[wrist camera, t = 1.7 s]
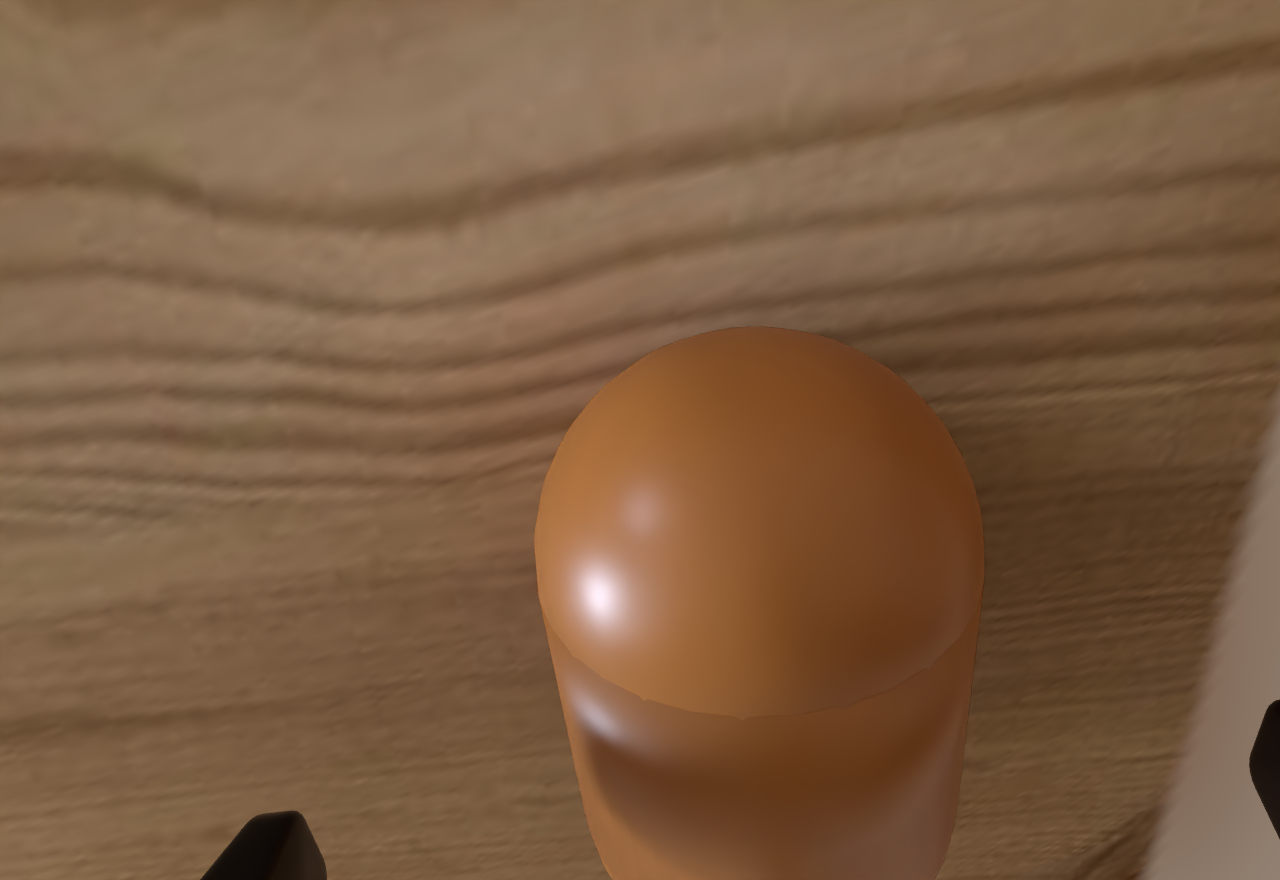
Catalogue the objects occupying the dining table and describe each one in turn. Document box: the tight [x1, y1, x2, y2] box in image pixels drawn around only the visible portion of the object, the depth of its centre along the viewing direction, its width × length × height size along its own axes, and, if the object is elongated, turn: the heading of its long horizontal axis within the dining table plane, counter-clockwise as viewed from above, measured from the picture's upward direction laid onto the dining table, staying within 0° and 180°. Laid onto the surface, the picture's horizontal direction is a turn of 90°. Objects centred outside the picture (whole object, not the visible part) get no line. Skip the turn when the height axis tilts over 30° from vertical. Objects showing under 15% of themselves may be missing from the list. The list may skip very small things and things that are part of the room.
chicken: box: [534, 327, 985, 880], centre depth 11 cm, size 10×4×4 cm, turn 6°
